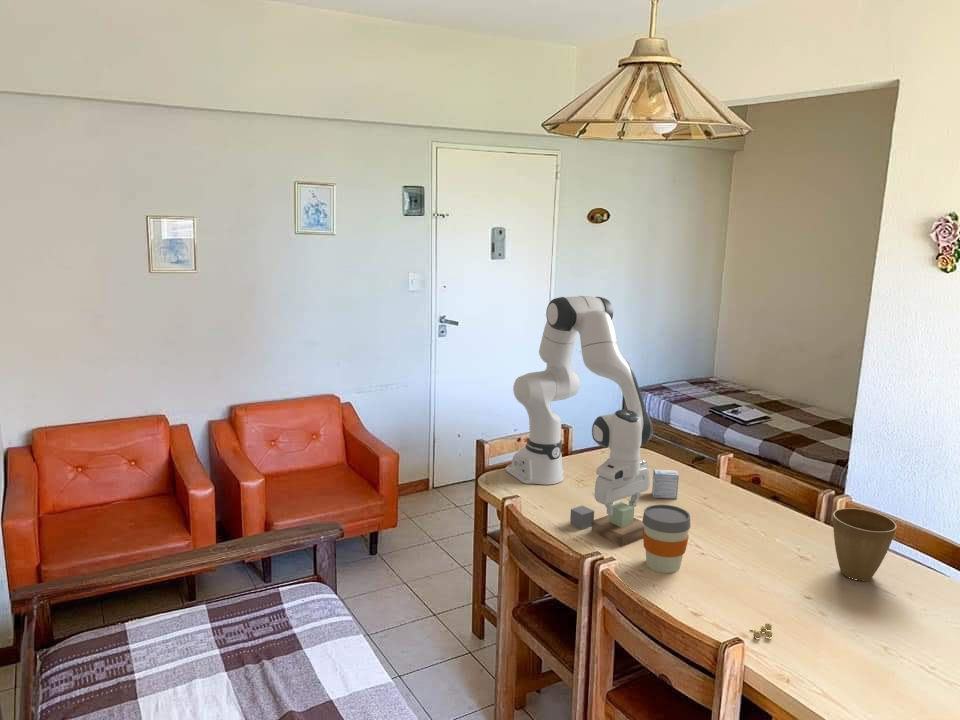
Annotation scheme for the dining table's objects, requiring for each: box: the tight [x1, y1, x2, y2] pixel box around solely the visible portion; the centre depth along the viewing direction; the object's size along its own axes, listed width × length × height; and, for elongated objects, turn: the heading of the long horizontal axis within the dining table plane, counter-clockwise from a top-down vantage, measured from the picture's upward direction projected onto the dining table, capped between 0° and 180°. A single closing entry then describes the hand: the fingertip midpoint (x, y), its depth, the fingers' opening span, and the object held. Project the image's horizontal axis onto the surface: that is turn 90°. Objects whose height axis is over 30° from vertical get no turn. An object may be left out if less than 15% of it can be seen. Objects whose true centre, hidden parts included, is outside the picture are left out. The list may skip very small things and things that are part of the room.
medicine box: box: [651, 469, 680, 500], centre depth 247 cm, size 8×4×9 cm, turn 84°
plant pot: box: [832, 507, 898, 581], centre depth 196 cm, size 15×15×16 cm
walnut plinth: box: [590, 514, 644, 548], centre depth 219 cm, size 12×12×4 cm
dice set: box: [753, 622, 773, 639], centre depth 169 cm, size 5×5×2 cm
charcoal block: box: [569, 505, 595, 531], centre depth 224 cm, size 5×5×5 cm
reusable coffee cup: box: [642, 504, 691, 574], centre depth 199 cm, size 13×13×15 cm
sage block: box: [609, 501, 635, 528], centre depth 218 cm, size 5×5×5 cm
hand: (621, 510), depth 218 cm, fingers open, 8 cm apart
